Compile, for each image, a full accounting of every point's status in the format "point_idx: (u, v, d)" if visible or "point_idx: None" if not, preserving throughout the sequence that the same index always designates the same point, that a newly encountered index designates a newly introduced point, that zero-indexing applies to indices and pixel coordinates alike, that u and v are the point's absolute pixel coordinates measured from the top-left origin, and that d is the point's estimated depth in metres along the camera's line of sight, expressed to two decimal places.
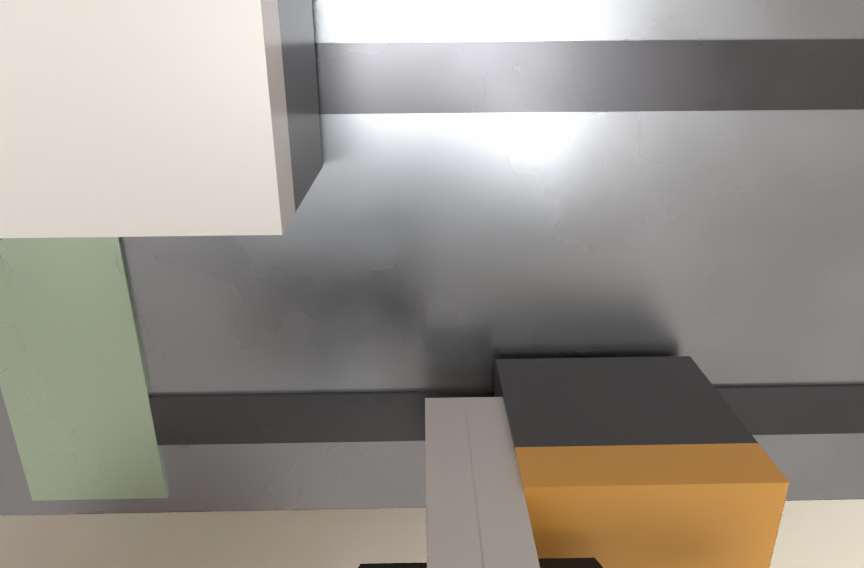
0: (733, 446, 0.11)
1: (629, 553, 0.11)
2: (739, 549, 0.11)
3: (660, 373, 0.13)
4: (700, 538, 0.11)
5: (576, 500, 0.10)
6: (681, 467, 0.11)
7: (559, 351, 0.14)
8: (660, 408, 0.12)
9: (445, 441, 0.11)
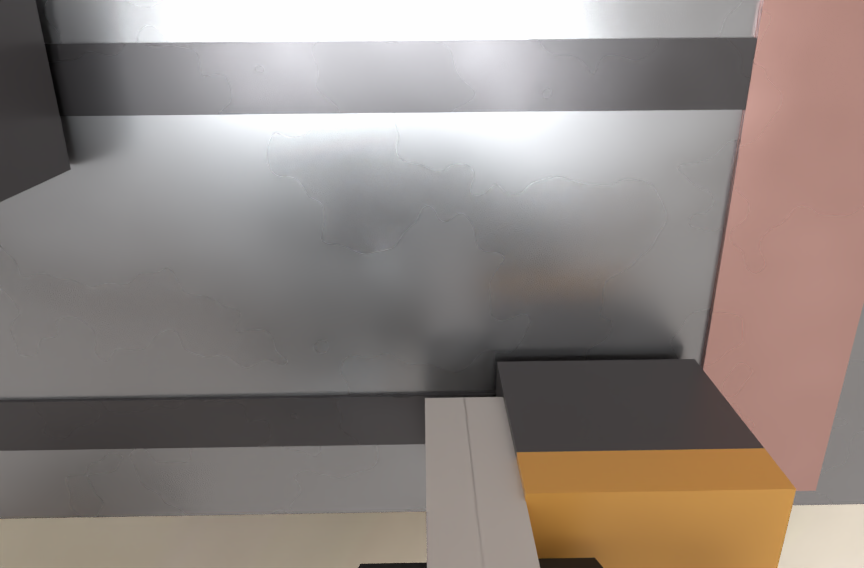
0: (739, 451, 0.11)
1: (632, 560, 0.10)
2: (745, 557, 0.10)
3: (664, 376, 0.13)
4: (705, 545, 0.10)
5: (578, 507, 0.10)
6: (686, 473, 0.10)
7: (345, 357, 0.14)
8: (665, 411, 0.12)
9: (445, 441, 0.11)
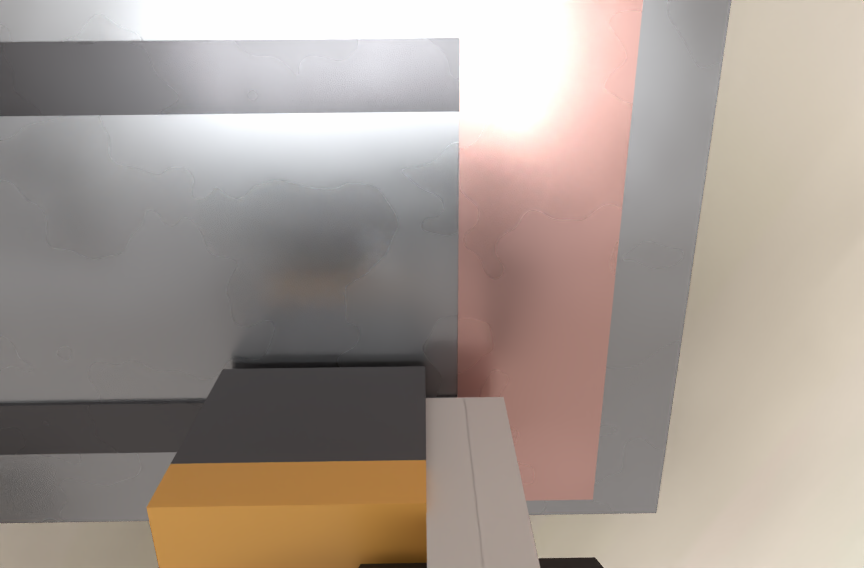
0: (396, 463, 0.11)
1: None
2: None
3: (380, 384, 0.13)
4: (346, 560, 0.10)
5: (205, 521, 0.10)
6: (325, 486, 0.10)
7: (90, 363, 0.14)
8: (353, 422, 0.12)
9: (445, 441, 0.11)
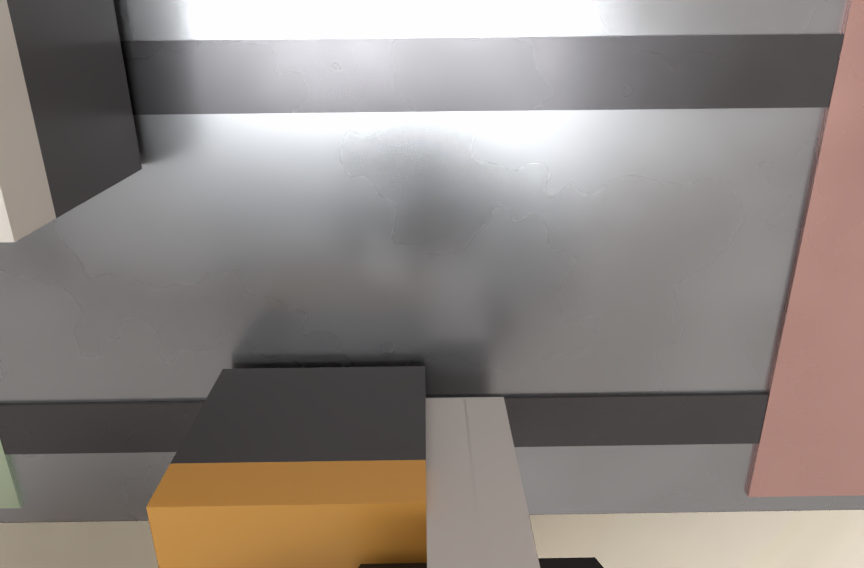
0: (395, 463, 0.11)
1: None
2: None
3: (380, 384, 0.13)
4: (346, 560, 0.10)
5: (205, 521, 0.10)
6: (325, 486, 0.10)
7: (410, 359, 0.14)
8: (353, 422, 0.12)
9: (445, 441, 0.11)
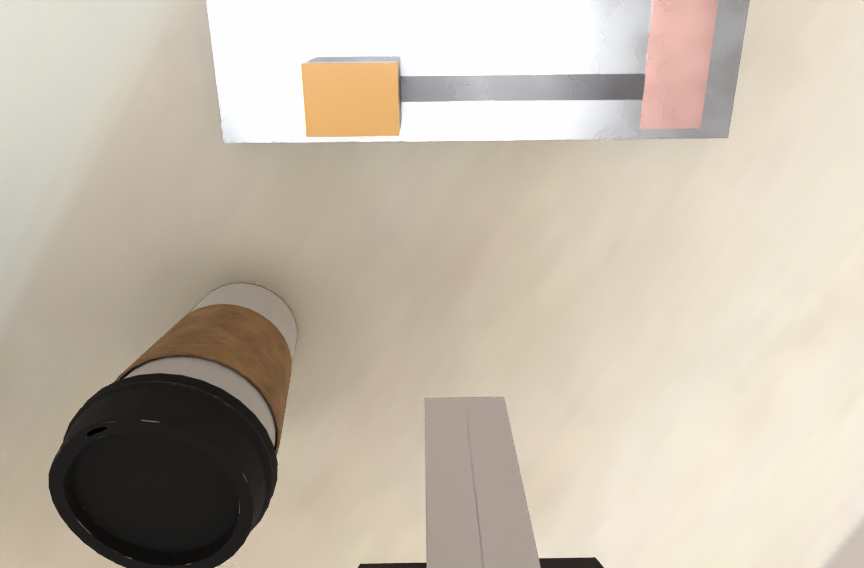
0: (387, 60, 0.29)
1: (344, 96, 0.28)
2: (385, 94, 0.28)
3: (381, 57, 0.31)
4: (369, 89, 0.28)
5: (320, 70, 0.28)
6: (362, 62, 0.28)
7: (491, 55, 0.32)
8: (370, 59, 0.30)
9: (444, 441, 0.11)
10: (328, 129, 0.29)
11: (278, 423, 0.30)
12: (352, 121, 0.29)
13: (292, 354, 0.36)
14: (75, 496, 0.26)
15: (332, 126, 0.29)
